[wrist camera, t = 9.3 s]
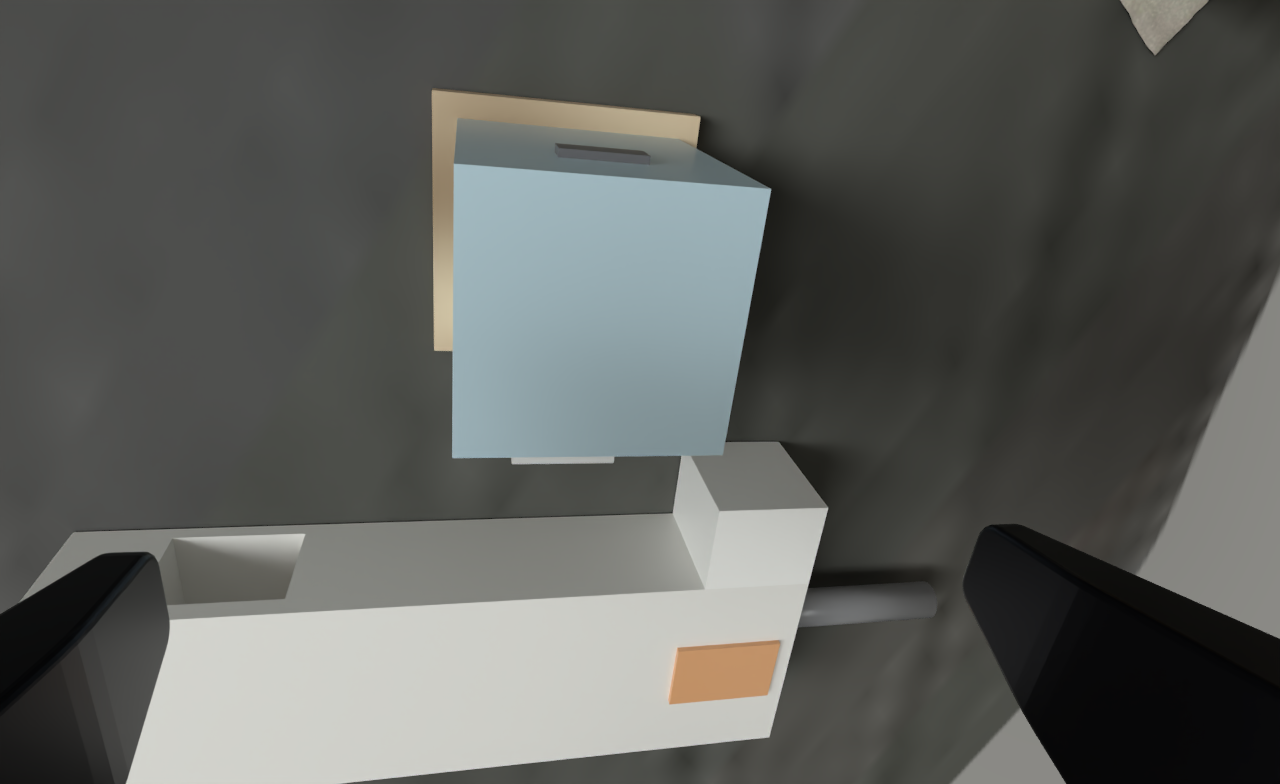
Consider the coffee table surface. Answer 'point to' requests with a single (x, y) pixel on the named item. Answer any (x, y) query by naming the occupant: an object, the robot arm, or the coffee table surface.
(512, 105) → the board
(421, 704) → the power strip
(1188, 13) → the condiment
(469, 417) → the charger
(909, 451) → the coffee table surface
